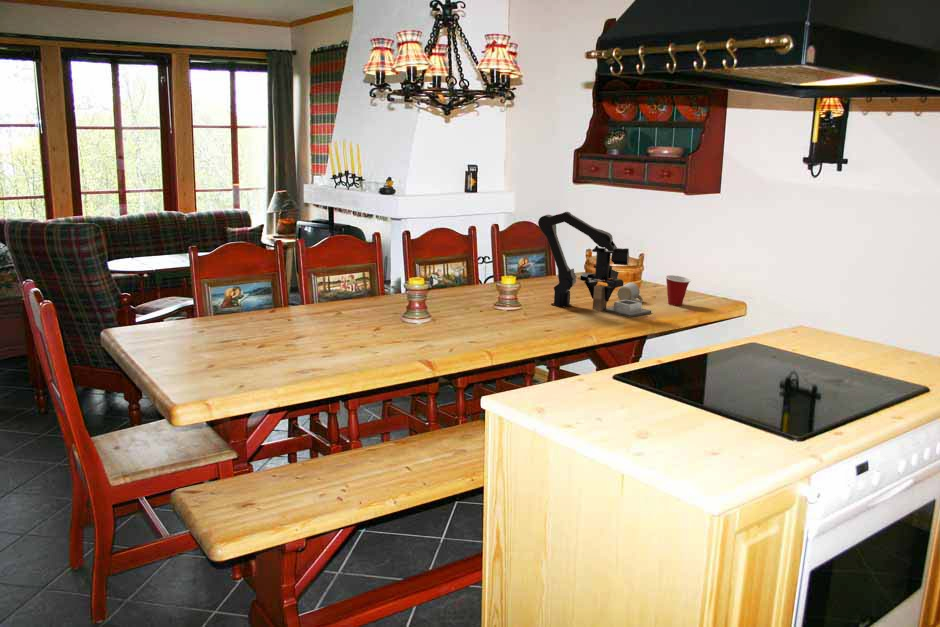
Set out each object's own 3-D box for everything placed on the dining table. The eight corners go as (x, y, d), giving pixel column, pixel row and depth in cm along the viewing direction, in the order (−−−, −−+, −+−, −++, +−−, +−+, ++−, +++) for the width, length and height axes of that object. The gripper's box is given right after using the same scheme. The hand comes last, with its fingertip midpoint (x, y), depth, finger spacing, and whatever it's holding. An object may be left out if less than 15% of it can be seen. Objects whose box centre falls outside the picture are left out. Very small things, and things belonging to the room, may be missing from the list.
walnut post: (599, 311, 318) (601, 287, 315) (592, 309, 321) (594, 285, 318) (606, 310, 320) (608, 286, 318) (598, 308, 323) (600, 284, 321)
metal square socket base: (630, 317, 309) (631, 307, 308) (603, 310, 319) (603, 301, 318) (651, 313, 318) (652, 303, 317) (624, 306, 328) (625, 297, 327)
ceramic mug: (615, 300, 338) (616, 283, 337) (623, 297, 345) (625, 281, 343) (637, 305, 332) (639, 287, 331) (645, 302, 339) (647, 285, 337)
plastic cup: (683, 308, 328) (686, 280, 325) (659, 304, 334) (662, 277, 331) (691, 304, 337) (694, 277, 334) (667, 300, 343) (670, 274, 340)
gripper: (633, 264, 314) (630, 302, 318) (598, 258, 328) (595, 293, 331) (616, 267, 307) (613, 305, 311) (580, 260, 321) (578, 296, 324)
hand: (600, 300), depth 319 cm, fingers open, 7 cm apart
